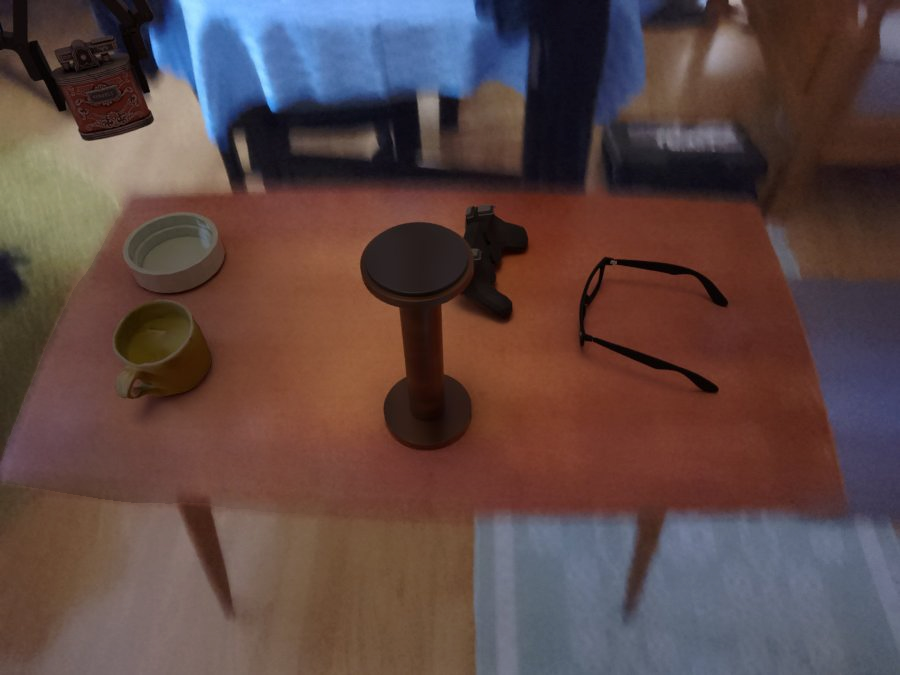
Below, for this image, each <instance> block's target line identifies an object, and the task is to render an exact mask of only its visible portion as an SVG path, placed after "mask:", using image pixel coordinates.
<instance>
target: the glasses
mask: <svg viewBox="0 0 900 675" xmlns="http://www.w3.org/2000/svg"><path fill="white" fill-rule="evenodd" d="M615 265H616V266H621V267H627V268H628V267H629V268H634V269H635V268H636V269H638V270H639V269H641V270H645V271H652V272H657V273H663V274H667V275H671V276H680V275H688V276H693V277H695V278H696V279H697V280H698V281H699V282H700V283H701V284H702V286H703V288H704V289H705V291H706V292H707V294H708V296H709V298H710V299H711V301H712V302H713V303H714V304H716V305H718V306H720V307H727V306H728V305H729V300H728V299H727V297H726V296H725V295H724V294H723V292H722V291H720V289H719V288H718V287H717V285H716V284H715V283H714V282H713V281H712V280H711V279H710V278H708V277H707V276H706V275H704V274H702V273H701V272H699V271H697V270H694V269H692V268H690V267H686V266H684V265H679V264H674V263H667V262H661V261H654V260H653V261H651V260H641V259H640V260H639V259H628V258H627V259H625V258H614V257H610V256H604V257H603V258H602V259H601V260H600V261H599V262H598V263H597V264H596V265H595V267H594V268H593V270H592V271H591V272H590V274H589V276H588V278H587V280H586V282H585V284H584V288H583V290H582V294H581V298H580V300H579V310H578V322H579V346H580V347H584V346H585V342H590V343H594V344H597V345H599V346H601V347H603V348H604V349H605V348H606V349H608V350H609V351H612V352H614V353H617V354H618V355H622V356H624V357H626V358H628V359H631V360H632V361H635V362H638V363H640V364H642V365H645V366H647V367H649V368H651V369H655V370H658V371H659V370H662V371H672V372H676V373H680V374H681V375H683V376H685V377H686V378H687V379H688V380H689V381H691V382H692V383H693V384H694V385H695V387H697V388H698V389H699V390H701V391H703V392H706V393H710V394H711V393H712V394H713V393H714V394H715V393H718V392H719V390H720V388H719V387H718V385H716V384H715V383H714V382H712V381H711V380H709V379H707V378H706V377H705V376H702V375H700V374H699V373H697V372H695V371H692V370H689V369H687V368H686V367H685V368H684V367H682V366H679V365H676V364H674V363H671V362H668V361H665V360H663V359H661V358H658V357H655V356H652V355H650V354H647V353H643V352H641V351H638V350H636V349H633V348H629V347H626V346H624V345H623V346H622V345H620V344H617V343H614V342H611V341H609V340H608V341H607V340H605V339H602V338H599V337H597V336H595V335H591V334H588V333H586V330H585V318H586V315H587V306H588V305H590V304H591V303H592V301H593V300H594V298H595V297H596V295H597V294H598V291H599V290H600V288H601V285H602V282H603V279H604V275H605V271H606V270H605V269H606V266H611V267H612V266H615ZM598 271H599V272H598ZM597 272H598V279H597V282H596V284H595V287H594V289H593V290H592V292H591V294H588V290H589V288H590V285H591V283H592V281H593V279H594V276H595V275H596V273H597ZM586 305H587V306H586Z"/></svg>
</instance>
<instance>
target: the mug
mask: <svg viewBox="0 0 900 675" xmlns="http://www.w3.org/2000/svg"><path fill="white" fill-rule="evenodd" d="M111 342H112V349H113V353H114V355H115V356H116V357H117V359H118V360H119V362H120V363H121V364H122V365H123V366H124V369H122V371H120V372H119V374H118V375H117V377H116V379H115V389H116V395H117V396H118V397H120V398H122V399H128V400H136V399H140V398H143V397H144V396H146V395H147V396H151V397H156V398H157V397H160V398H161V397H168V396H172V395H175V394H182V393H183V394H184V393H185V392H189V391H190V390H192V389H193V388H195V387H197V386H198V385H199V384H200V382H202V380H203V379H204V378H205V377H206V376H207V374H208V372H209V371H210V367H211V364H212V354H211V351H210V350H211V349H210V347H209V344H208V343H207V342H208V341H207V340H206V337H205V335H204V334H203V331H202V329H201V326H200V325H199V323H198V322H197V321H196V318H195V317H194V315H193V314H192V312H191V310H190V309H189V308H188V307H187V306H186V305H185V304H183V303H180V302H178V301H176V300H172V299H167V298H164V299H153V300H149V301H146V302H144V303H141V304H140V305H137V306H135V307H134V308H132V309H131V310H130V311H129V312H128V313H126V314H125V315H124V316H123V317H122V318H121V319H120V321H119V323H118V324H117V326H116V327H115V330H114V332H113V334H112V339H111ZM136 381H139V383H140V385H136V386H134V384H135V382H136Z"/></svg>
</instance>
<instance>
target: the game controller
mask: <svg viewBox="0 0 900 675" xmlns="http://www.w3.org/2000/svg"><path fill="white" fill-rule="evenodd" d="M495 208H496V206H495V205H493V204H479V206H475V205H470V206H467V207H466V208H465V212H464V213H465V214H464V216H465V221H464V234H463V236H462V237H463V238H464V239H465V240H466V242H467V243H468V244H469V246H470V248H471V250H472V252H473V257H474V272H473V276H472V279H471V281H470V283H469V284H468V286H467V287H466V288H465V290H464V291H463V292H462V293H460V294H459V295H462V296H463V297H466V298H467V299H468V300H470V301H472V302H473V303H475V304H476V305H478V306H479V307H481V308H483V309H484V310H486V311H487V312H489V313H490V314H492V315H493V316H495V317H497V318H500V319H502V320H507V319H509V318H510V316H511V314H512V312H513V311H514V308H513V307H514V306H513V301H512V300H511V299H510V298H509V297H508V296H506V295H505V294H503V293H502V292H500V291H499V290H498V289H496V288H495V287H494V286H495V283H496V282H497V273H496V272H497V271H496V268H495V266H494V265H499V264H501V262H502V256H503V254H502V251H510V252H511V251H513V252H524V251H526V249H527V247H528V246H529V236H528V232H527V229H525V227H524V226H522V225H519V224H515V223H512V222H507V221H505V220H503V219H501V218H500V217H498V216H497V215H496V214H495Z"/></svg>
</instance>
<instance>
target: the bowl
mask: <svg viewBox="0 0 900 675" xmlns="http://www.w3.org/2000/svg"><path fill="white" fill-rule="evenodd" d="M225 252H226V251H225V247H224V245H223V242H222V238H221V236H220V234H219V231H218V228H217V225H216V224H215V223H214V222H213V221H212V220H211V219H210V218H209V217H206V216H205V215H202V214H199V213H196V212H188V211H180V212H170V213H166V214H162V215H159V216H155V217H153V218H150V219H149V220H147V221H145V222H143V223H142V224H140V225H139V226H138V227H136V228H135V229H134V230H133V231H131V233H130V234H129V235H128V237H127V238H126V239H125V241H124V244H123V246H122V256H123V261H124V263H125V264H126V267H127V268H128V270H129V272H130V274H131V276H132V278H133V279H134V281H136V283H137V285H139V286H140V287H141V288H144V289H146V290H147V291H150V292H155V293H161V294H173V293H179V292H180V293H181V292H185V291H188V290H191V289H195V288H196V287H198V286H200V285H203V284H204V283H206V282H207V281H208V280H209V279H211V278H212V277H213V276H214V275H215V274H216V273H218V271H219V269H220V267H221V266H222V265H223V263H224V260H225V254H226V253H225Z"/></svg>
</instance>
